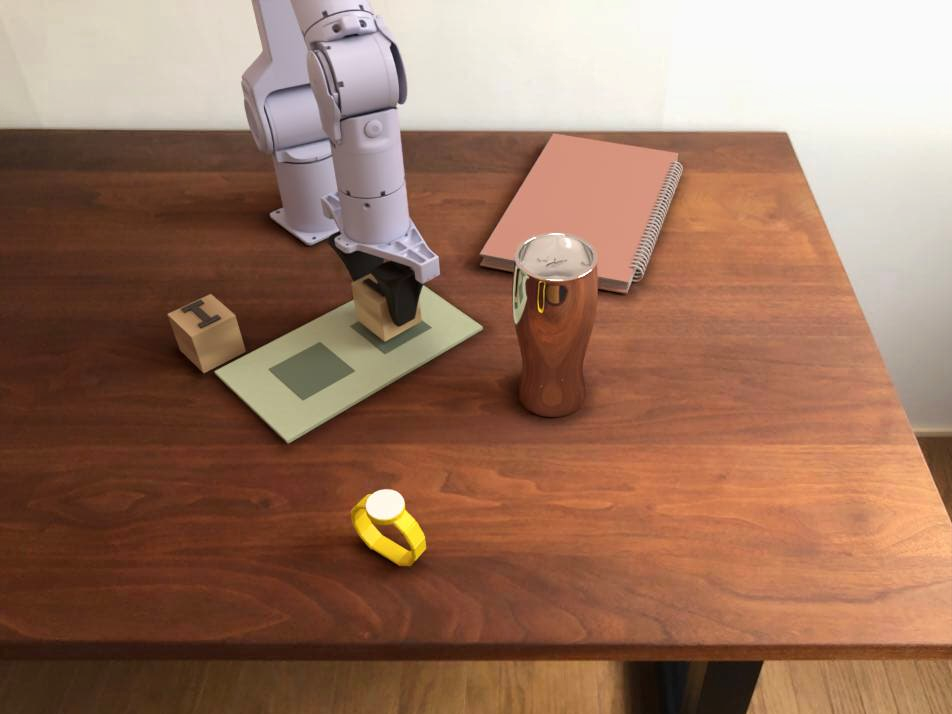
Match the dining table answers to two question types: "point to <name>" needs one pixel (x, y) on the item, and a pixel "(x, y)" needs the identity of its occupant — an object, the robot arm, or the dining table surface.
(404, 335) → the word mat
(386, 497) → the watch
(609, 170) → the notebook
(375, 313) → the block
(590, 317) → the beer glass
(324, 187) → the robot arm
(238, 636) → the dining table surface
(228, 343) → the block
